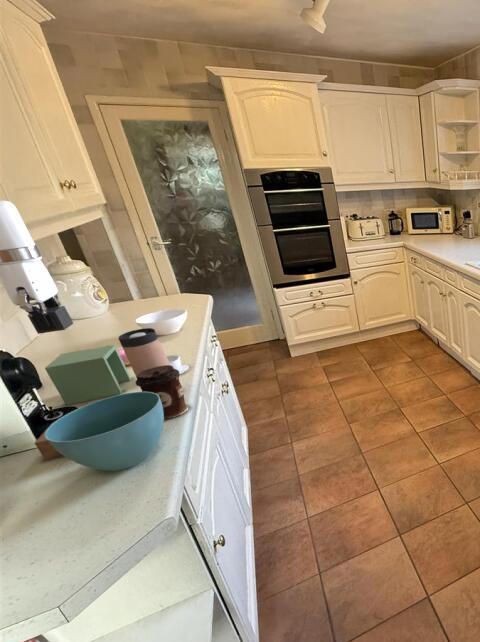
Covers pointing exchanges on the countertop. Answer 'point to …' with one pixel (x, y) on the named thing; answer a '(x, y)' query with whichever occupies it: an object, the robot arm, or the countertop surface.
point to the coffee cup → (164, 388)
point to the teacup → (177, 363)
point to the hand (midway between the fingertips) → (54, 324)
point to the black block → (56, 319)
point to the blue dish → (110, 431)
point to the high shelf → (88, 374)
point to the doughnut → (124, 357)
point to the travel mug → (143, 349)
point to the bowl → (163, 321)
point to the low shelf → (47, 448)
